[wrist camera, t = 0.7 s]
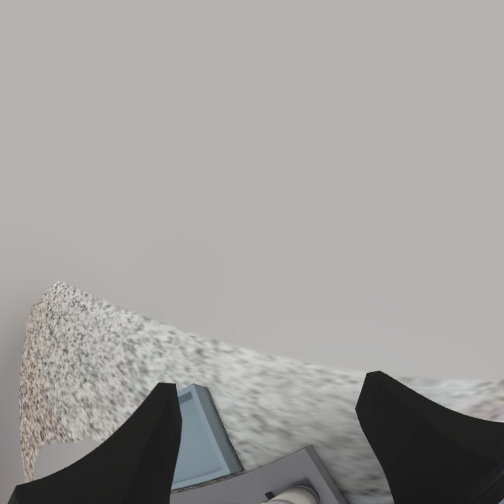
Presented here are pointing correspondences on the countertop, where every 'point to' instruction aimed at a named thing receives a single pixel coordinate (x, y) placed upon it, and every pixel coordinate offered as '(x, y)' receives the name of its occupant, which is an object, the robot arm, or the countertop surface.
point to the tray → (202, 441)
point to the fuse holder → (268, 483)
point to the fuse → (297, 496)
